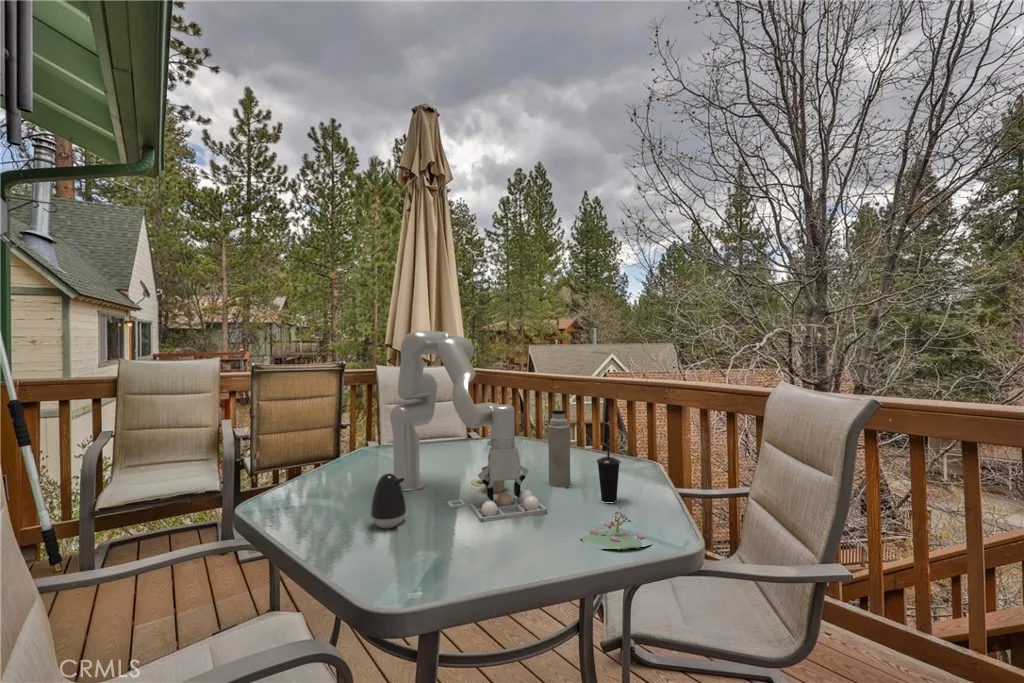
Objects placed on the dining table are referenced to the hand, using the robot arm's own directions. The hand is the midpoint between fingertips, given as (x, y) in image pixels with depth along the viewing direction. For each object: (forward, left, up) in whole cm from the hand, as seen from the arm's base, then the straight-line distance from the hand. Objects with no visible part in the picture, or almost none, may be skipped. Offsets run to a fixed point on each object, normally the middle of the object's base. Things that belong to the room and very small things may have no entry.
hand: (503, 497), depth 152 cm
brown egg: (0, 0, -3) cm, 3 cm away
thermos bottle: (+27, +16, -4) cm, 32 cm away
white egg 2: (+7, 0, -3) cm, 7 cm away
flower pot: (+2, +17, -4) cm, 18 cm away
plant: (+23, -29, -4) cm, 37 cm away
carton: (0, -3, -4) cm, 5 cm away
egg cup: (-14, +7, -4) cm, 16 cm away
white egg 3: (+7, -7, -3) cm, 10 cm away
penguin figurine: (-36, -1, -4) cm, 36 cm away
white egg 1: (-7, -7, -3) cm, 10 cm away
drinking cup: (+35, -6, -4) cm, 36 cm away
